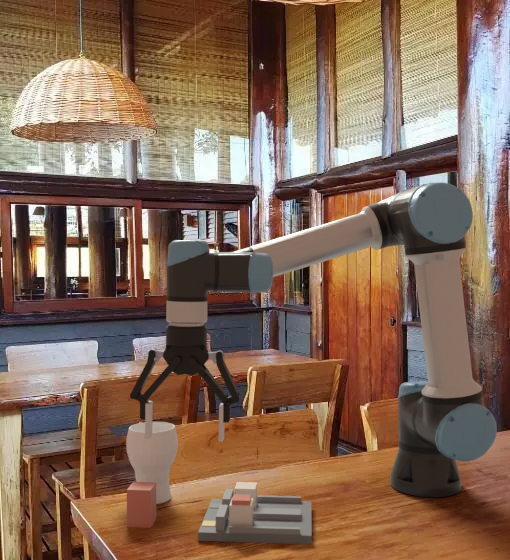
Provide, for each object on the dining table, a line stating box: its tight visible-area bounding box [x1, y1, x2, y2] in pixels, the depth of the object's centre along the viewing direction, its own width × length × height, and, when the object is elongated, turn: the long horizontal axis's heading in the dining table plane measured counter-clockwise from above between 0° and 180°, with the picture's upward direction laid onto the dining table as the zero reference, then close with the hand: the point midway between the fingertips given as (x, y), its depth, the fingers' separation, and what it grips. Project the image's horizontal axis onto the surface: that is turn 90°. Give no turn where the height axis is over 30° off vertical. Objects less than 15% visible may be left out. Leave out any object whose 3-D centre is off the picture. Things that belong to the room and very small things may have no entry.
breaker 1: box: [234, 481, 258, 508], centre depth 132 cm, size 4×4×4 cm
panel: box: [197, 488, 313, 545], centre depth 127 cm, size 20×17×4 cm
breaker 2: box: [229, 493, 253, 526], centre depth 123 cm, size 4×4×5 cm
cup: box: [125, 421, 179, 505], centre depth 141 cm, size 11×11×15 cm
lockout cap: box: [126, 481, 157, 529], centre depth 128 cm, size 4×4×7 cm
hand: (184, 438), depth 125 cm, fingers open, 13 cm apart
